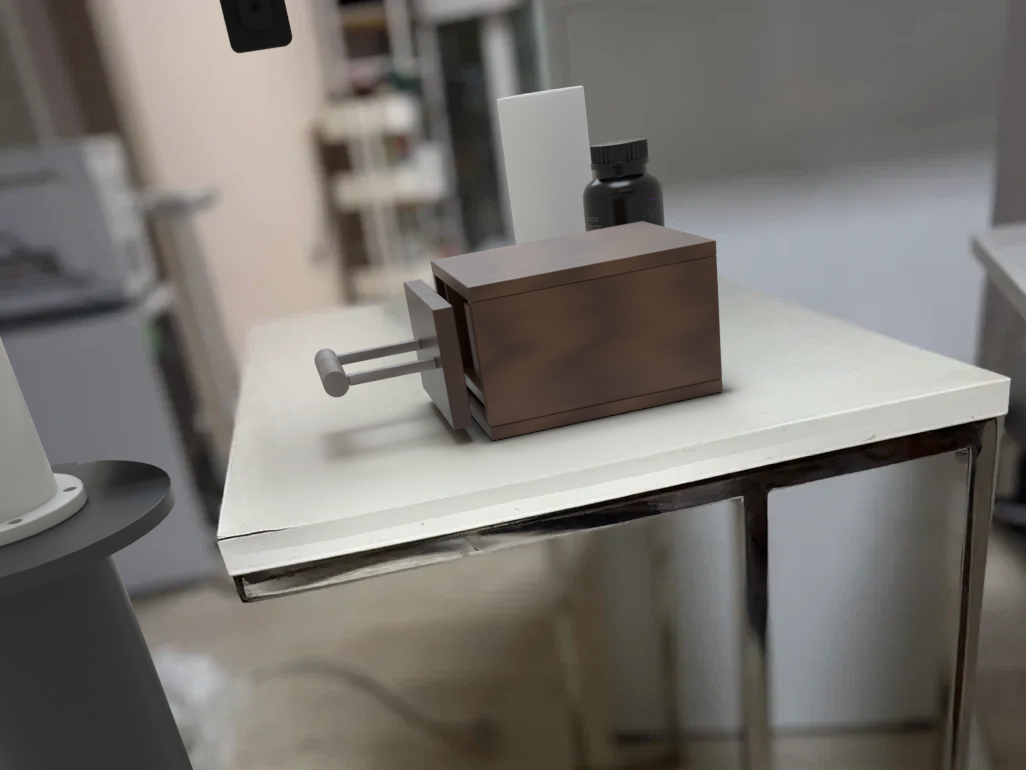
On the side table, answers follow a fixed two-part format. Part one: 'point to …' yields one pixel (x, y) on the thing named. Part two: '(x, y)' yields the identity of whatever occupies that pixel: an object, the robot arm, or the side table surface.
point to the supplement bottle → (622, 186)
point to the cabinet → (589, 324)
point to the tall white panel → (546, 161)
